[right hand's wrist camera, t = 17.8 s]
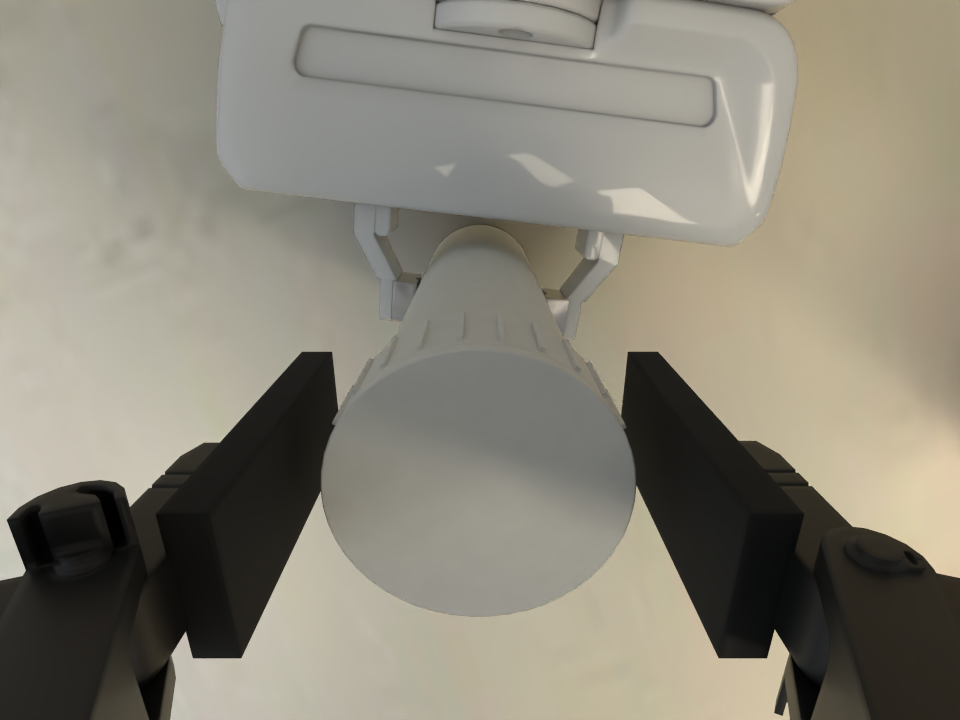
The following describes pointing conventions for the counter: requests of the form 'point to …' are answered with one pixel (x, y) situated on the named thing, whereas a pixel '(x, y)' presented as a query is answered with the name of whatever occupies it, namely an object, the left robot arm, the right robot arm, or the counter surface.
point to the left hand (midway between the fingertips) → (478, 326)
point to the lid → (478, 468)
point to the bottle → (479, 281)
